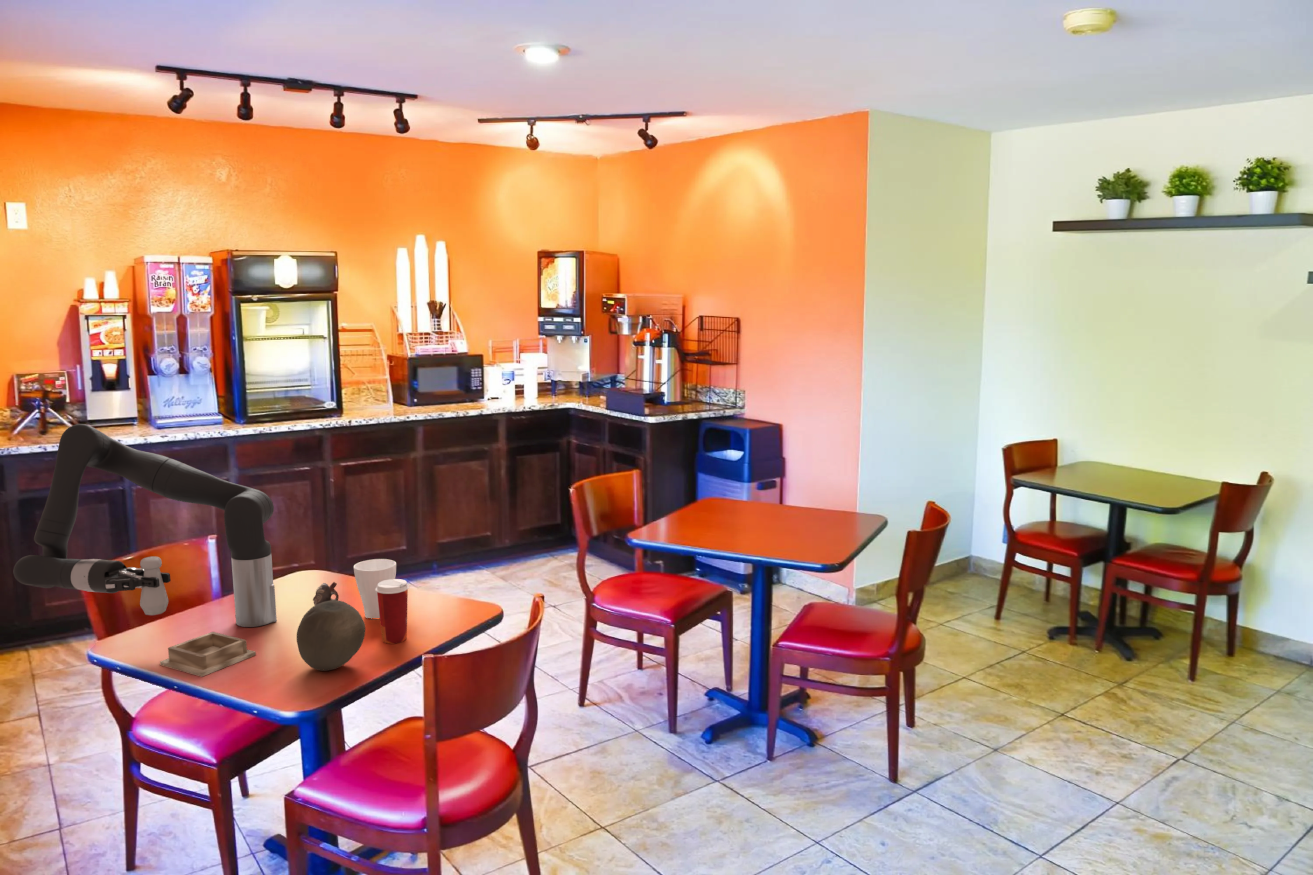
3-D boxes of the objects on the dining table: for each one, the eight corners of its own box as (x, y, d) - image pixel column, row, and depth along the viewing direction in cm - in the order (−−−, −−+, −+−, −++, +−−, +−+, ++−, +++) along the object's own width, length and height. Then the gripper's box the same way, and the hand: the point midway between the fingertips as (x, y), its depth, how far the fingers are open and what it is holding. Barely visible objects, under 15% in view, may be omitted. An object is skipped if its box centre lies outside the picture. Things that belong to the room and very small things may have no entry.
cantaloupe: (306, 686, 199) (302, 618, 197) (292, 663, 211) (288, 599, 209) (373, 671, 207) (370, 606, 204) (356, 651, 219) (353, 588, 216)
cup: (407, 613, 244) (405, 562, 242) (375, 625, 235) (372, 573, 233) (379, 606, 250) (376, 556, 248) (347, 617, 241) (344, 566, 239)
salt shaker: (156, 617, 214) (152, 562, 212) (134, 615, 215) (130, 560, 213) (174, 608, 220) (170, 555, 218) (153, 607, 221) (148, 553, 219)
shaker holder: (215, 644, 223) (213, 628, 222) (255, 654, 216) (254, 639, 216) (160, 664, 211) (158, 648, 210) (201, 676, 204) (200, 660, 204)
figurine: (311, 627, 234) (308, 580, 232) (341, 623, 237) (339, 577, 235) (313, 637, 228) (310, 589, 226) (344, 632, 230) (341, 585, 228)
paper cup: (417, 636, 228) (415, 580, 226) (396, 647, 221) (394, 589, 219) (392, 631, 231) (389, 576, 229) (370, 642, 224) (367, 585, 222)
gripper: (73, 568, 212) (140, 573, 209) (120, 551, 226) (183, 555, 222) (76, 600, 213) (143, 605, 210) (123, 582, 227) (186, 586, 223)
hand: (163, 580), depth 216 cm, fingers closed on salt shaker, 3 cm apart
